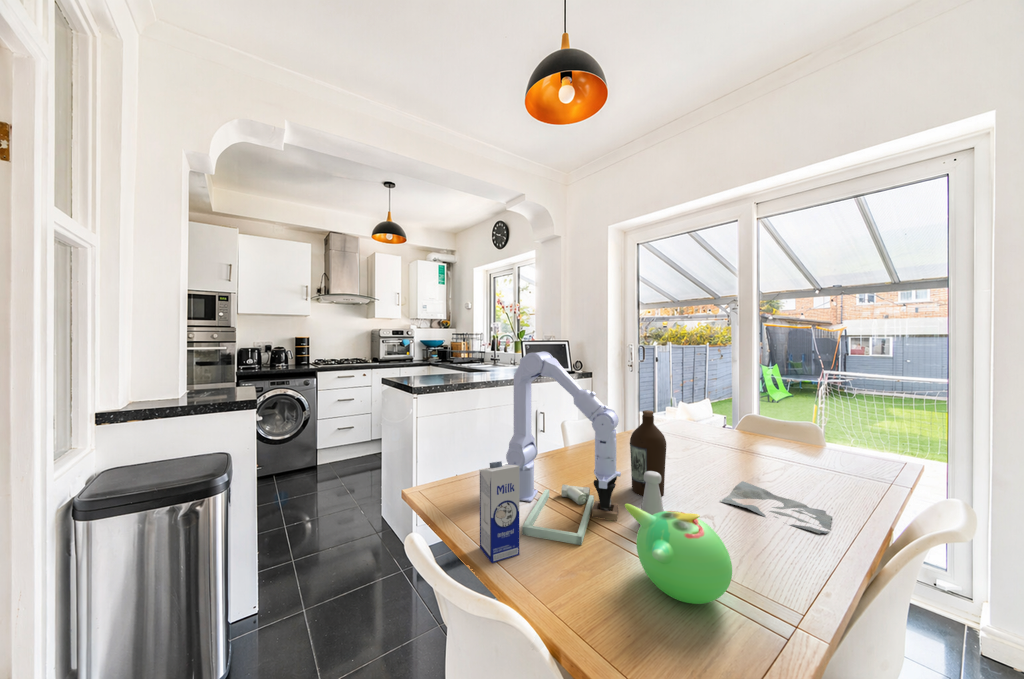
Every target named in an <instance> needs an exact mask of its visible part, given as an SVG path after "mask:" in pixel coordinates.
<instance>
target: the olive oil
mask: <svg viewBox="0 0 1024 679" xmlns="http://www.w3.org/2000/svg"><path fill="white" fill-rule="evenodd" d="M641 416H642V417H641V418H642V422H641V423H640V425H638V426H637V428H635V429H634V430H633V431H632V432H631V435H630V440H629V448H630V450H629V451H630V468H631V469H630V472H631V491H632V492H633V493H634V494H636V495H637V496H641V497H643V496H644V490H645V485H646V482H645V481H644V473H645V472H647V471H654V472H658V473H659V474H660V475H661V483H659V489H660V494H661V497H663V496H664V494H665V479H666V478H665V477H666V475H665V474H666V462H667V460H666V459H667V458H666V457H667V440H666V436H665V435H664V434H663V432H662V431H661V430H660V429H659V428H658V427H657V426H656V425H655V422H654V421H655V416H654V411H653V410H645V409H644V410H642V415H641Z"/></svg>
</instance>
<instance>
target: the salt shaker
mask: <svg viewBox="0 0 1024 679" xmlns="http://www.w3.org/2000/svg"><path fill="white" fill-rule="evenodd" d="M644 481H645V482H646V485H645V490H644V496H642V501H641V508H640V509H641V510H643V511H645V512H647V513H649V514H651V515H653V514H656V513H659V512H663V511H665V510H664V509H665V508H664V505H663V501H662V496H661V494H660V489H659V483H661V475H660V474H659V473H658V472H654V471H647V472H645V473H644Z"/></svg>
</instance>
